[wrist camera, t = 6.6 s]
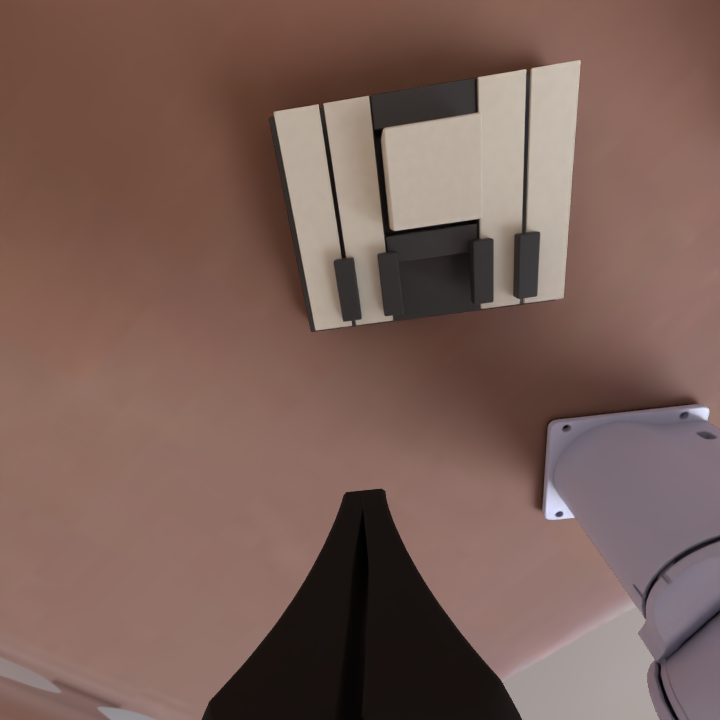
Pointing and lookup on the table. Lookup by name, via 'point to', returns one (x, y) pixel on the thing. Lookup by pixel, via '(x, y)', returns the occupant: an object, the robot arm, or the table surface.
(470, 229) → the toy piano
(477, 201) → the square cream block
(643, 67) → the table surface
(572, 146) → the piano keys trim
